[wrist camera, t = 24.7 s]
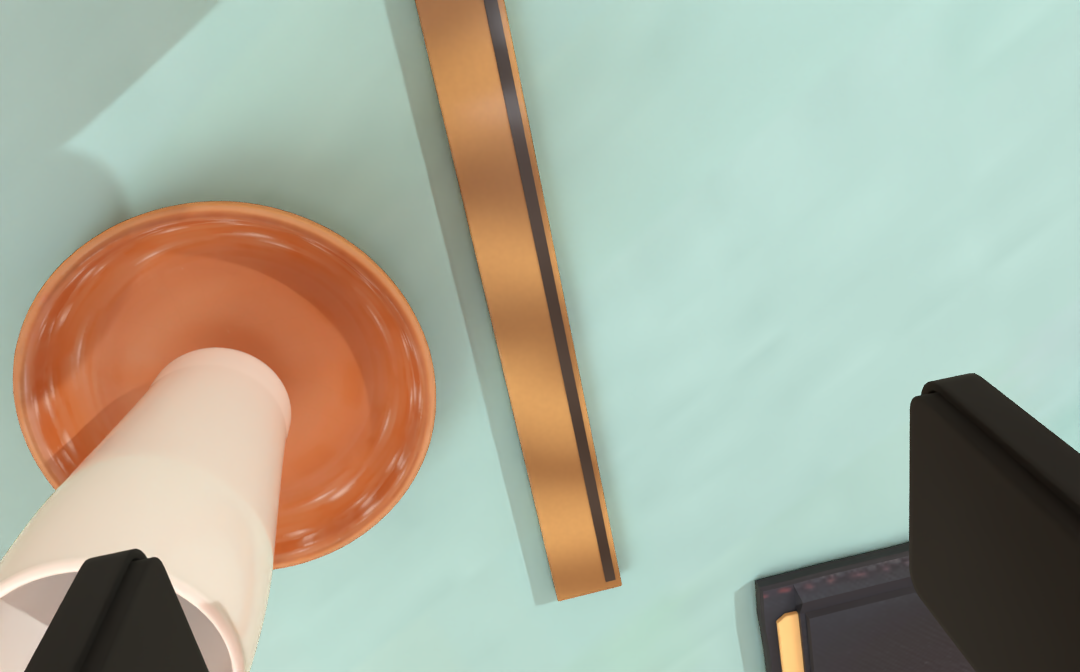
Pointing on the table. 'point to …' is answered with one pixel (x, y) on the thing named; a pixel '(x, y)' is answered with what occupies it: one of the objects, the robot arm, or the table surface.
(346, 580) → the table surface
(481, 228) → the ruler
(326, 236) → the saucer
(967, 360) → the table surface
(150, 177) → the table surface
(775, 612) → the wallet
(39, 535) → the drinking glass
